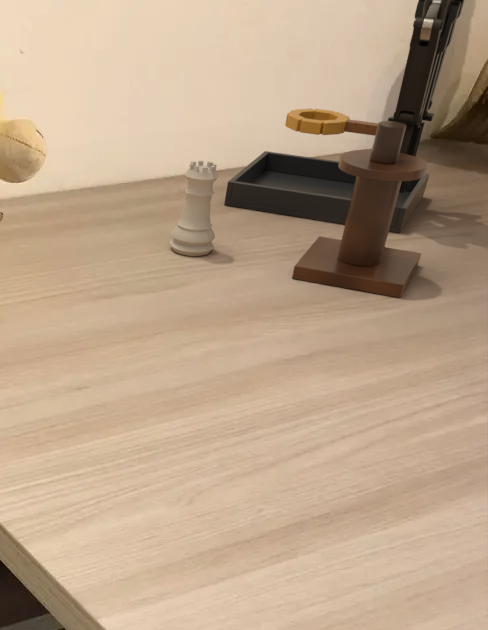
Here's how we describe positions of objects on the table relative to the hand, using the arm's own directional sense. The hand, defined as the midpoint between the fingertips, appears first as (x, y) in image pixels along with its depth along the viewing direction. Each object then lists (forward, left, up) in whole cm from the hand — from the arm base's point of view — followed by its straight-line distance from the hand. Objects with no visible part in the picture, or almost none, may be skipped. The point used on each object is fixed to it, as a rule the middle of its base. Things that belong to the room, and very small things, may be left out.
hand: (392, 187), depth 114 cm
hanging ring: (+6, 0, +5) cm, 8 cm away
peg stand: (-1, +22, -2) cm, 22 cm away
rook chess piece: (+15, +24, -3) cm, 28 cm away
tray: (+7, 0, -2) cm, 7 cm away
